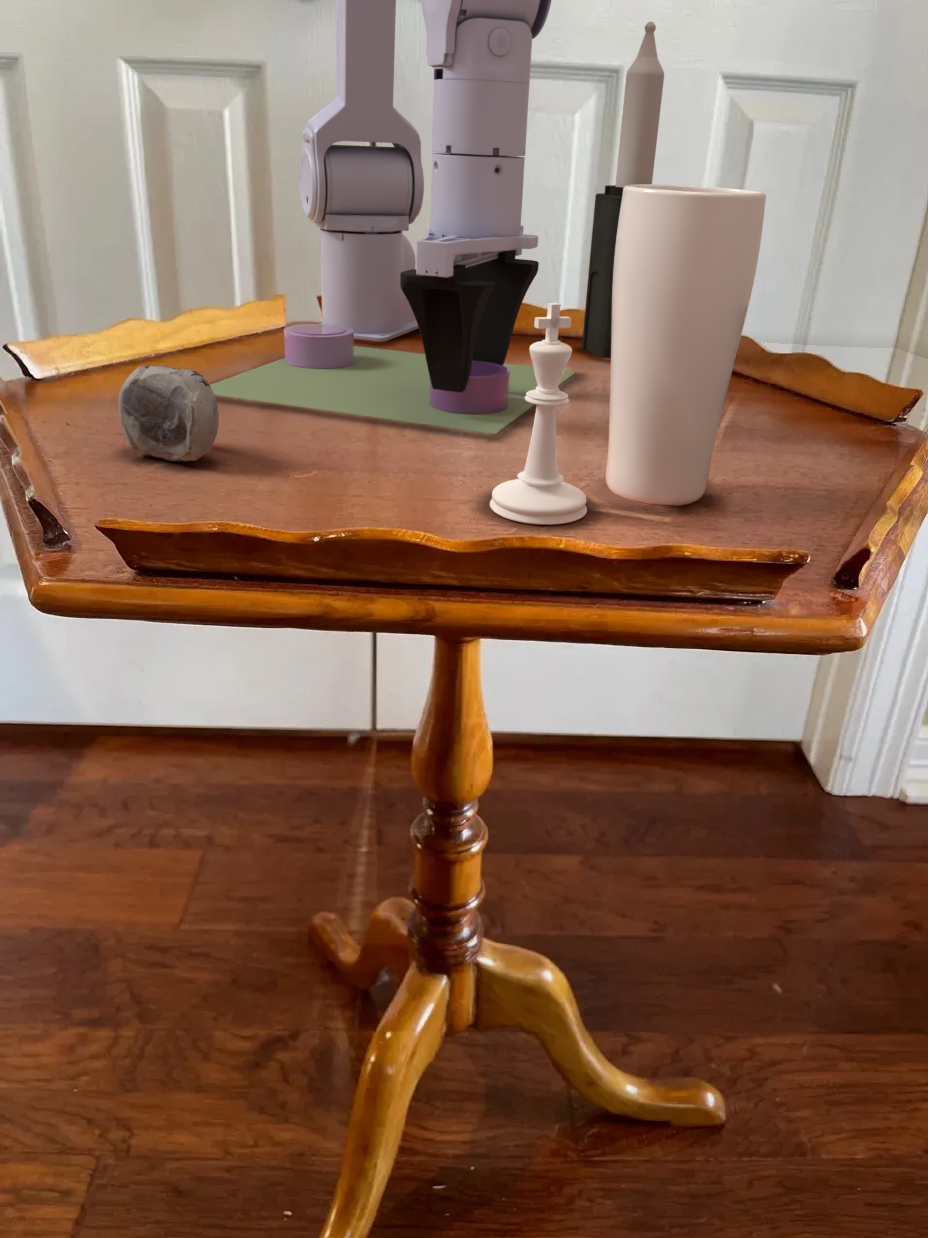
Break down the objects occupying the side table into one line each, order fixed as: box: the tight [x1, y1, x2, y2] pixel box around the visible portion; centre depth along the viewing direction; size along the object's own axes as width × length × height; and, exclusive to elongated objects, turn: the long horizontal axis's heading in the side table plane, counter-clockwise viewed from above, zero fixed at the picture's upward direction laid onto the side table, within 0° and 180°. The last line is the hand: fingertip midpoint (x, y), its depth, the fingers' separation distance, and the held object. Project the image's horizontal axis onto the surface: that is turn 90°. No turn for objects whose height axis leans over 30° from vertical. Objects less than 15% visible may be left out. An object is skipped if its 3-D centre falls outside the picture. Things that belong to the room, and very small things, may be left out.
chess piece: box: [489, 302, 588, 526], centre depth 48 cm, size 5×5×10 cm
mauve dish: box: [429, 361, 510, 414], centre depth 67 cm, size 5×5×2 cm
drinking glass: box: [604, 183, 767, 507], centre depth 50 cm, size 7×7×15 cm
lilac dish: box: [283, 323, 355, 369], centre depth 77 cm, size 5×5×2 cm
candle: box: [581, 21, 665, 359], centre depth 81 cm, size 5×5×25 cm
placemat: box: [209, 345, 577, 435], centre depth 73 cm, size 20×22×1 cm
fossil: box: [118, 364, 220, 462], centre depth 54 cm, size 6×3×5 cm, turn 68°
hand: (469, 377), depth 67 cm, fingers open, 7 cm apart
